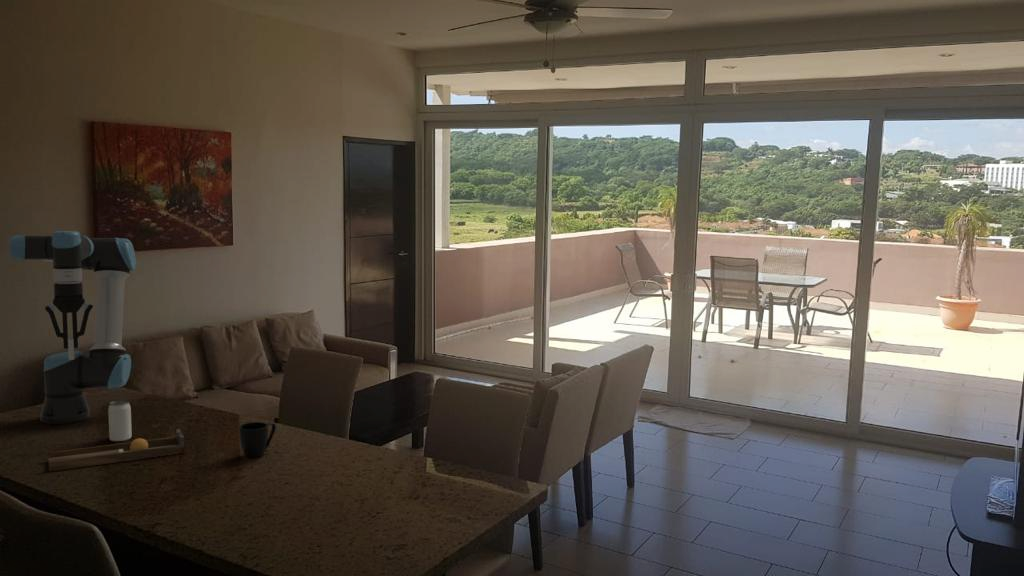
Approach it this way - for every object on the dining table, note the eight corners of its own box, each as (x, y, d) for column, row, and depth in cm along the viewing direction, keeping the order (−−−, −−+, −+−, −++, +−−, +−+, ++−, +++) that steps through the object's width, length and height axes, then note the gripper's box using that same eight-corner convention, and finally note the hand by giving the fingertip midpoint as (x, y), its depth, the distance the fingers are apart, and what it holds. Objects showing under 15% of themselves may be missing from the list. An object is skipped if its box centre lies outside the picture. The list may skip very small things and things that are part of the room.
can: (125, 442, 251) (124, 405, 249) (105, 441, 251) (104, 405, 250) (135, 436, 257) (134, 400, 256) (115, 435, 257) (114, 399, 256)
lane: (48, 460, 232) (48, 444, 231) (179, 444, 250) (179, 428, 250) (48, 471, 223) (48, 454, 223) (184, 453, 242) (184, 437, 241)
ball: (128, 437, 238) (146, 435, 242) (128, 453, 239) (145, 451, 242) (132, 441, 235) (150, 440, 238) (131, 457, 235) (149, 456, 238)
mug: (283, 452, 245) (283, 422, 244) (251, 462, 235) (250, 431, 234) (267, 446, 250) (266, 417, 248) (234, 456, 240) (233, 426, 239)
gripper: (42, 284, 231) (46, 363, 233) (93, 282, 237) (96, 359, 240) (43, 281, 237) (46, 358, 240) (92, 280, 244) (94, 354, 246)
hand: (71, 358), depth 240 cm, fingers closed
